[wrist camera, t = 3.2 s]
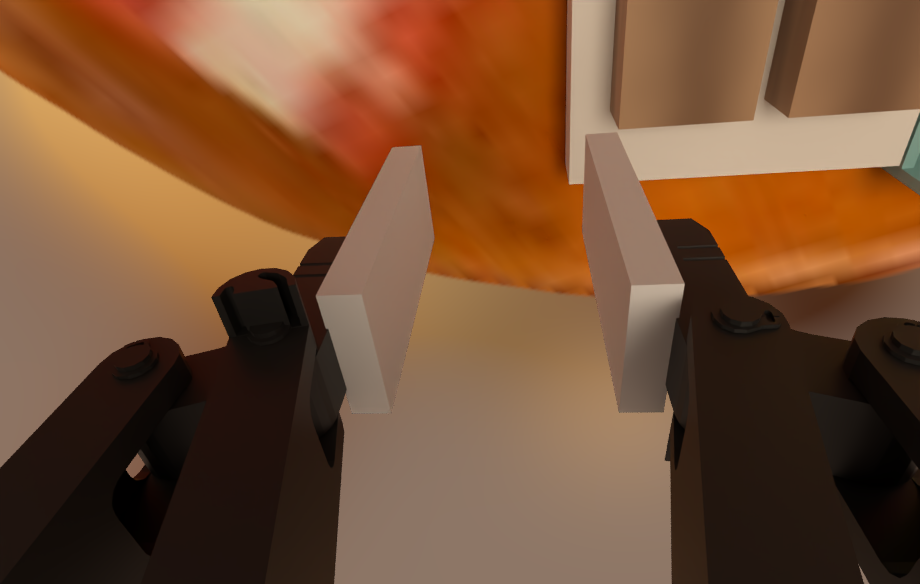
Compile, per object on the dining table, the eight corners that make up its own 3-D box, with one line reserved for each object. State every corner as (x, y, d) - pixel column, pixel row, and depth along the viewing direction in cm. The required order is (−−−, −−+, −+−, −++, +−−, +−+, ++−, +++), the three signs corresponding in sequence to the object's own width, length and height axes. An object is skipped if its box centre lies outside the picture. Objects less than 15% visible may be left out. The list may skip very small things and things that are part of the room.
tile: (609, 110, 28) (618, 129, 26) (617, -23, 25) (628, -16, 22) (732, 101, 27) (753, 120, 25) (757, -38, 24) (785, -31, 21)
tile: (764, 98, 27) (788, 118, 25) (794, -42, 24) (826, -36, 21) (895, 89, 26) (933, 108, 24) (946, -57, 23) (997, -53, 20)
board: (565, 163, 33) (569, 184, 31) (568, -125, 25) (574, -129, 23) (869, 145, 31) (899, 165, 28) (978, -177, 23) (1033, -187, 20)
